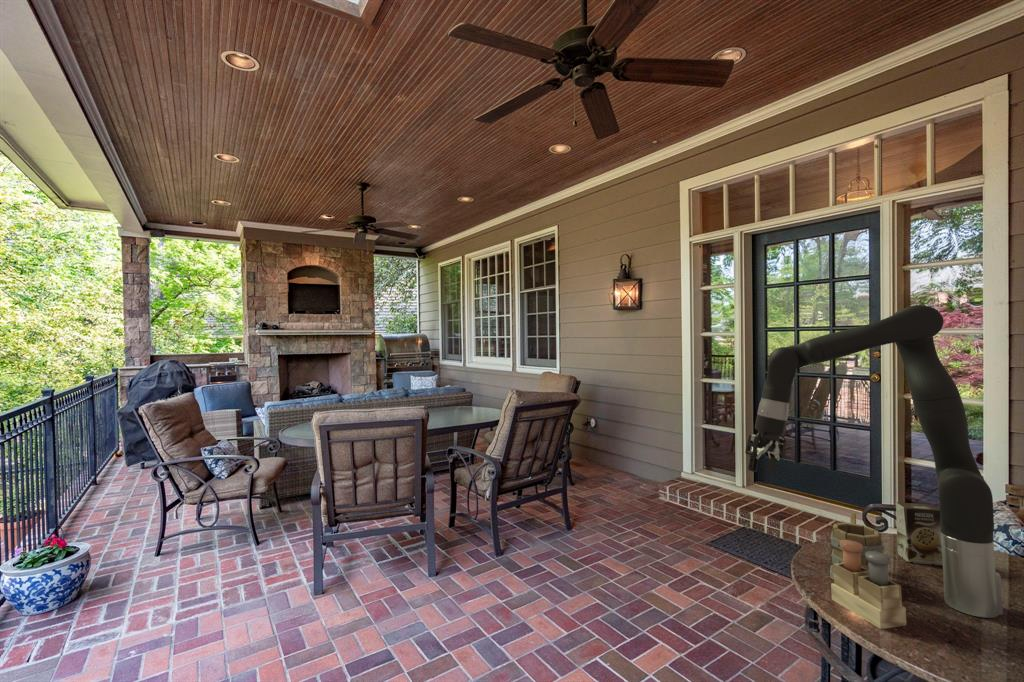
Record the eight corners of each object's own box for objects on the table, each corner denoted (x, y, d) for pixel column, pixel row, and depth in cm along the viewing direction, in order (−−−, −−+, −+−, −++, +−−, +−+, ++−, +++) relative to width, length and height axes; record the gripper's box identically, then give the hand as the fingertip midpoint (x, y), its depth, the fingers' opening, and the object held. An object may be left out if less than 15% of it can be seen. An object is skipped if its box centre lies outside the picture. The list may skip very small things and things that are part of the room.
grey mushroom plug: (878, 578, 110) (876, 550, 111) (897, 588, 106) (895, 558, 106) (861, 580, 110) (860, 552, 110) (880, 590, 105) (878, 560, 105)
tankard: (889, 597, 117) (885, 538, 118) (829, 583, 125) (826, 528, 125) (885, 567, 133) (882, 515, 134) (832, 557, 141) (830, 507, 141)
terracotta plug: (852, 565, 117) (850, 539, 117) (868, 574, 113) (867, 546, 113) (836, 567, 116) (835, 540, 117) (852, 576, 112) (851, 548, 112)
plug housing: (855, 596, 118) (853, 561, 118) (906, 625, 105) (904, 585, 105) (831, 599, 117) (830, 563, 117) (880, 629, 104) (878, 588, 104)
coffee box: (908, 563, 135) (905, 508, 136) (897, 553, 142) (894, 501, 142) (946, 566, 133) (942, 510, 133) (933, 557, 139) (930, 503, 140)
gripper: (769, 416, 124) (758, 475, 124) (799, 421, 131) (789, 477, 131) (744, 410, 131) (733, 466, 131) (774, 415, 137) (764, 468, 137)
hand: (761, 471), depth 131 cm, fingers open, 8 cm apart
